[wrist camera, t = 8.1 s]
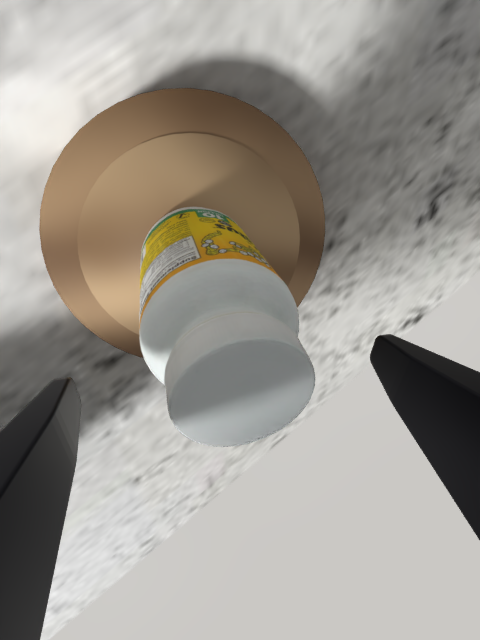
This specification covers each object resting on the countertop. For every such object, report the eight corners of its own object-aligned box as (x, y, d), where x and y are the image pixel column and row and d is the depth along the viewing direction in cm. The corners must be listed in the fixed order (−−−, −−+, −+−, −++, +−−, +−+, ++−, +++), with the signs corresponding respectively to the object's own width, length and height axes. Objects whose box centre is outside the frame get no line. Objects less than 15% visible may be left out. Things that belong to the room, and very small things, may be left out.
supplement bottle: (116, 254, 15) (84, 412, 7) (203, 177, 14) (273, 263, 6) (192, 321, 18) (226, 483, 10) (267, 262, 17) (368, 390, 9)
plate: (292, 327, 24) (306, 349, 21) (90, 351, 21) (83, 380, 18) (324, 96, 16) (352, 94, 14) (8, 83, 13) (-20, 79, 11)
